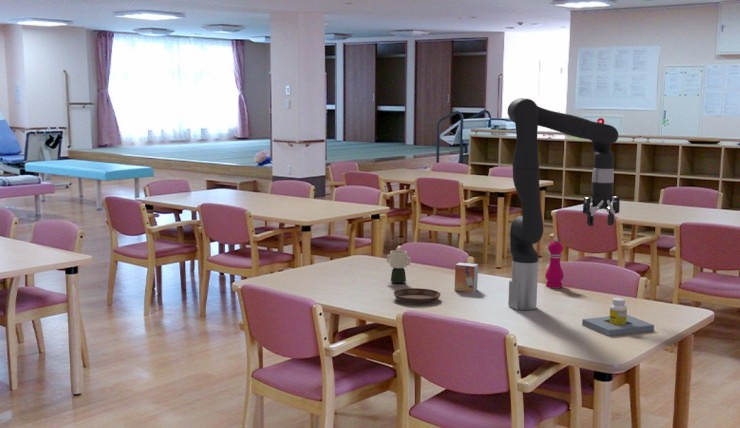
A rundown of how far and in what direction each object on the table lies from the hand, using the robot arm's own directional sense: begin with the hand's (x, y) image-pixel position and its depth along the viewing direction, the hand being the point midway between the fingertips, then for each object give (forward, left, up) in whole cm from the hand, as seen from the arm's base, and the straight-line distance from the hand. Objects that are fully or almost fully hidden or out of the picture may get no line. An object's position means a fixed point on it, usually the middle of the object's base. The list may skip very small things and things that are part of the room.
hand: (600, 225), depth 296 cm
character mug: (-53, +60, -30) cm, 86 cm away
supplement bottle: (-11, -26, -30) cm, 41 cm away
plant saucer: (-58, +31, -31) cm, 72 cm away
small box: (-33, +39, -30) cm, 59 cm away
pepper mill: (+4, +33, -30) cm, 45 cm away
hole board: (-11, -26, -30) cm, 41 cm away
